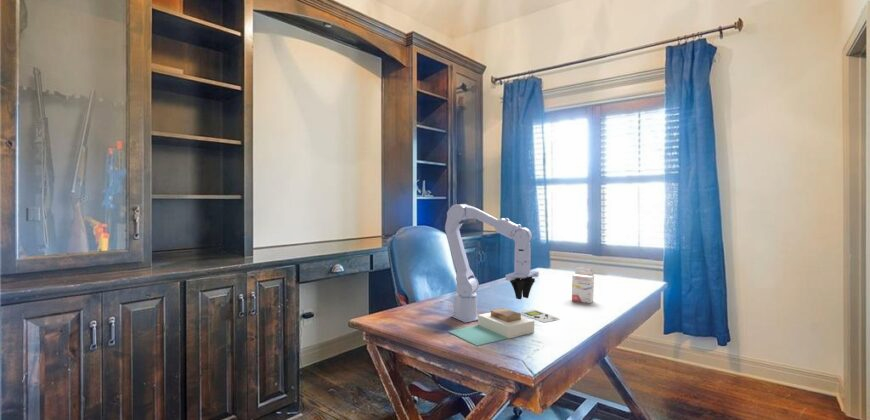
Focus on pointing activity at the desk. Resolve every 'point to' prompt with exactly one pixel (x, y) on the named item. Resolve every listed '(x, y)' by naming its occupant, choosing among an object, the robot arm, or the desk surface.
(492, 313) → the block
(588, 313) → the desk surface
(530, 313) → the handheld gaming device
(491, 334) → the mat
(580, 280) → the ink cartridge box
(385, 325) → the desk surface
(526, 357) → the desk surface
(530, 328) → the cream white board
